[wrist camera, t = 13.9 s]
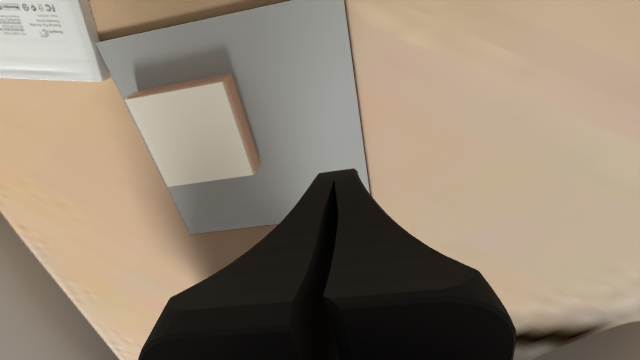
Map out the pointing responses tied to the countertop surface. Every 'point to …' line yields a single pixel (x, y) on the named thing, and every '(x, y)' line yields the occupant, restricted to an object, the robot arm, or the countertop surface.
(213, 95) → the tile
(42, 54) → the external hard drive
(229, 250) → the countertop surface
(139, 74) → the mat
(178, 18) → the countertop surface
